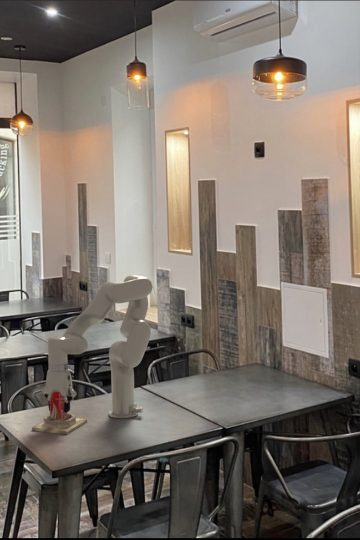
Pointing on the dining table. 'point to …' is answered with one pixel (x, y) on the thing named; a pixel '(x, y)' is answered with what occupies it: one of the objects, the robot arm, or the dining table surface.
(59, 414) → the soda can
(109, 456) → the dining table surface
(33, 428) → the drink holder
